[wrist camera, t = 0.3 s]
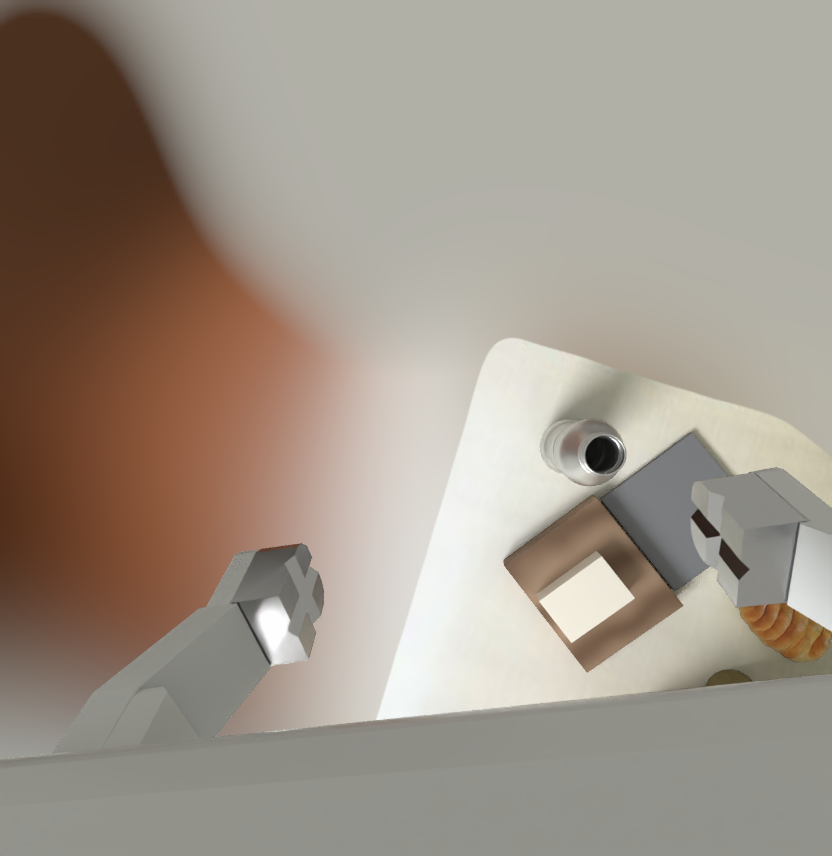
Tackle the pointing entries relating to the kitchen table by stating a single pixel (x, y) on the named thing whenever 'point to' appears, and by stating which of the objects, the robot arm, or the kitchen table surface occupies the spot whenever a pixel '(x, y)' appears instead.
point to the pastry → (787, 631)
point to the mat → (666, 508)
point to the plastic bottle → (583, 450)
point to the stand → (601, 533)
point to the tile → (584, 596)
